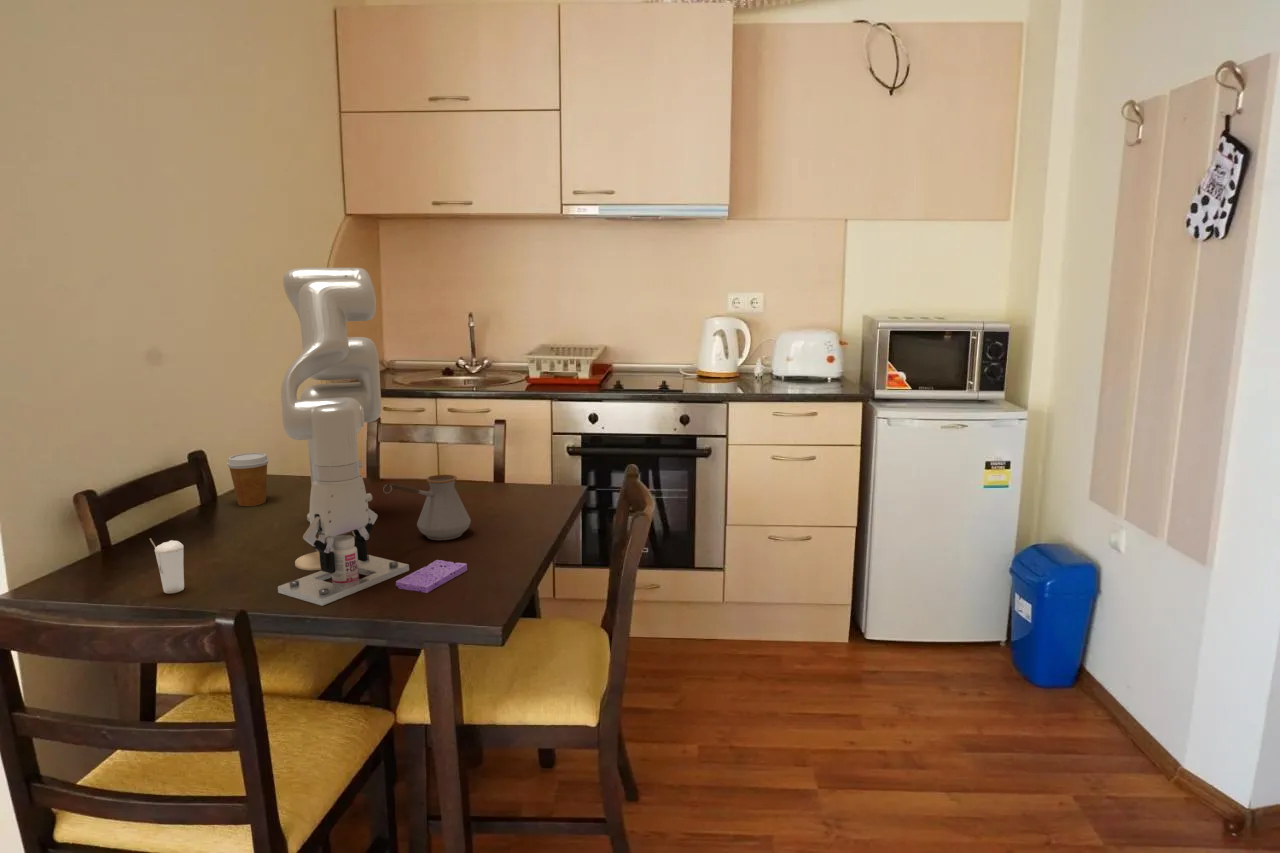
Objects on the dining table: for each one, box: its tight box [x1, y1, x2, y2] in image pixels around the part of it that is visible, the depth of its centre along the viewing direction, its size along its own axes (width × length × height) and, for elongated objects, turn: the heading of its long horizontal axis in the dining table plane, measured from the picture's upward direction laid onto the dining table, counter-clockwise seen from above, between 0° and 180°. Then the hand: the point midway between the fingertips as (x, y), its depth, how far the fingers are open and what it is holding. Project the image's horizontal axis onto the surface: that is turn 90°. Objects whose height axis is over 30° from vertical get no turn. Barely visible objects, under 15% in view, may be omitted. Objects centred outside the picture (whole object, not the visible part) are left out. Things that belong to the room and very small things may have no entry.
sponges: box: [395, 559, 468, 594], centre depth 156 cm, size 7×13×2 cm, turn 157°
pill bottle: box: [331, 534, 360, 586], centre depth 155 cm, size 5×5×8 cm
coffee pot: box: [382, 474, 472, 541], centre depth 177 cm, size 21×12×15 cm, turn 149°
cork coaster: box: [294, 551, 322, 571], centre depth 166 cm, size 10×10×1 cm
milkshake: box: [149, 538, 185, 595], centre depth 151 cm, size 4×5×10 cm
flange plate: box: [277, 554, 410, 607], centre depth 155 cm, size 20×12×2 cm, turn 149°
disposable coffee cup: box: [226, 452, 270, 507], centre depth 208 cm, size 10×10×12 cm
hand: (344, 565), depth 155 cm, fingers open, 6 cm apart
